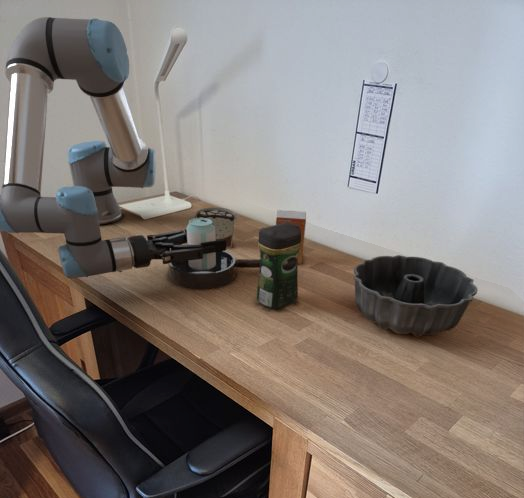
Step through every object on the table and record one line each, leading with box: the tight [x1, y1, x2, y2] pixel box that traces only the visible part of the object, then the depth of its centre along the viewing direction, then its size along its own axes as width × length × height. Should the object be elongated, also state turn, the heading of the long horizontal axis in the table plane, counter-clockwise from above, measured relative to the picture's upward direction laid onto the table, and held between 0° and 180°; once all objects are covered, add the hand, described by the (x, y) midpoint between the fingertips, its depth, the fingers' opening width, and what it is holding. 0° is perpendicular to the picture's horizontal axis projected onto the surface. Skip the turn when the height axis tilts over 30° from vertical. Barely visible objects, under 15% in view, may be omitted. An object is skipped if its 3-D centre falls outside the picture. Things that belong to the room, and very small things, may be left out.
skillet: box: [167, 250, 236, 290], centre depth 119 cm, size 17×17×4 cm
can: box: [186, 217, 216, 271], centre depth 116 cm, size 7×7×12 cm
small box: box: [275, 209, 307, 265], centre depth 127 cm, size 8×6×13 cm
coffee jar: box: [256, 222, 301, 310], centre depth 104 cm, size 10×8×19 cm
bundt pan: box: [352, 254, 478, 338], centre depth 103 cm, size 26×26×10 cm
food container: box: [194, 207, 238, 249], centre depth 136 cm, size 12×6×10 cm, turn 84°
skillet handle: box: [235, 258, 260, 269], centre depth 120 cm, size 13×2×2 cm, turn 95°
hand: (219, 239), depth 117 cm, fingers closed on can, 7 cm apart
